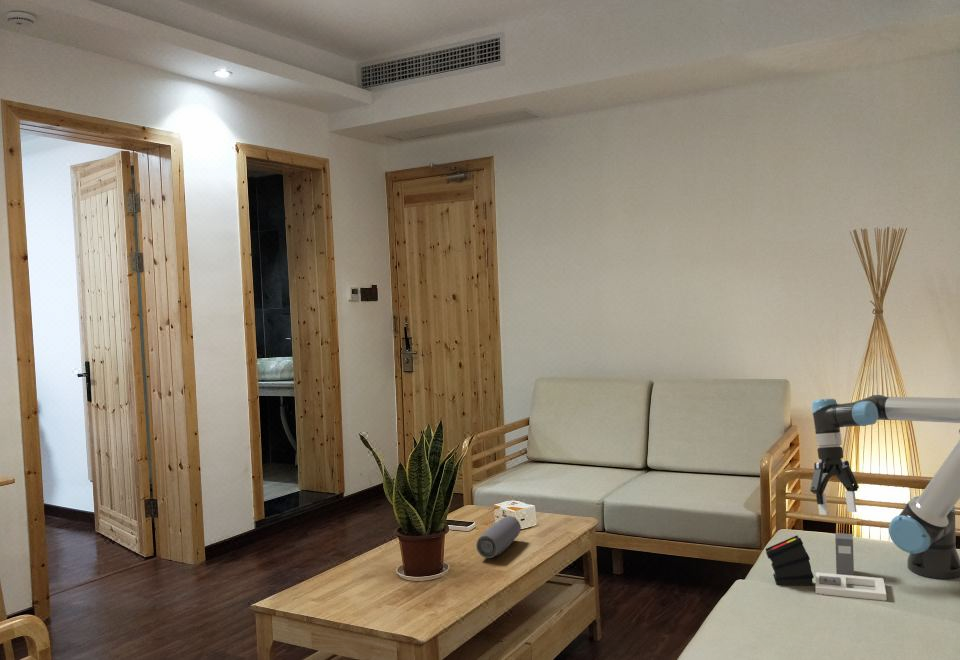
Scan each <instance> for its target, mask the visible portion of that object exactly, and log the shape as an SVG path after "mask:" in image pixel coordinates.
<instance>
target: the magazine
mask: <svg viewBox="0 0 960 660" xmlns="http://www.w3.org/2000/svg"><path fill="white" fill-rule="evenodd" d="M765 554H766V556H767V558H768V559H769V560H770V562H771V567H772V570H773V574H772V575H773V578H774V582H775V585H777V586H810V587H811V586H813V582H814V581H813V579H814V577H815V576H814V574H813V571H812V567H811V563H810V560H811V558H810V555H809V553H808V552H807V550H806V549H805V546H804V542H803V540H802V539H801V537H799V535H794V536H791V537H790V538H787V539H785V540H782V541H780V542H778V543H776V544H774V545H771V546H769V547H767V548H765Z"/></svg>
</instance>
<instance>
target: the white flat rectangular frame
mask: <svg viewBox="0 0 960 660" xmlns="http://www.w3.org/2000/svg"><path fill="white" fill-rule="evenodd" d="M847 585H854V586H855V585H856V586H867V587H868V586H869V587H874V589H865V588H864V589H863V588H855V587H854V588H852V587H847ZM816 593H819V594H818V595H823V594H824V595H826V596H834V597H843V598H844V597H846V598H856V599H865V600H873V601H887V590H886V585H885V581H884V578H882V577H872V576H871V577H870V576H864V575H863V576H862V575H861V576H860V575H854V576H852V575H841V574H836V573H827V572H826V573H825V572H818V571H816V572H815V594H816Z"/></svg>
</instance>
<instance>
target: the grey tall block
mask: <svg viewBox="0 0 960 660" xmlns="http://www.w3.org/2000/svg"><path fill="white" fill-rule="evenodd" d="M834 534H835V535H834V536H835V539H834V541H835V542H834V543H835V568H836V570H835V571H836V573H835V574H841V575H852V576H855V572H854V571H855V569H854V568H855V565H854V560H855V559H854V537H853V534H852V533H841V532H835V533H834Z"/></svg>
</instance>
